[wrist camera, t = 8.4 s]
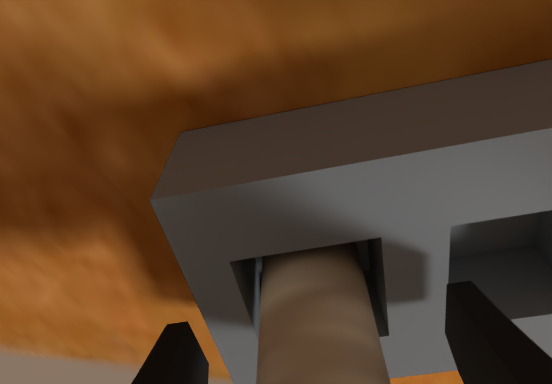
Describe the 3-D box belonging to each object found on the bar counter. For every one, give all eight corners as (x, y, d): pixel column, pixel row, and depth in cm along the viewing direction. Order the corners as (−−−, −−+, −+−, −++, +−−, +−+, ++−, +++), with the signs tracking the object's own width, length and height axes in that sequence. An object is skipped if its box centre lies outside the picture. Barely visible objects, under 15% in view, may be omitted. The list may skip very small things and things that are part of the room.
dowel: (349, 193, 13) (418, 453, 7) (355, 263, 15) (415, 526, 8) (255, 206, 14) (233, 466, 7) (272, 273, 15) (266, 533, 9)
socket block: (595, 50, 12) (721, 97, 9) (546, 267, 17) (615, 351, 13) (180, 132, 13) (149, 200, 10) (245, 310, 18) (239, 396, 15)
